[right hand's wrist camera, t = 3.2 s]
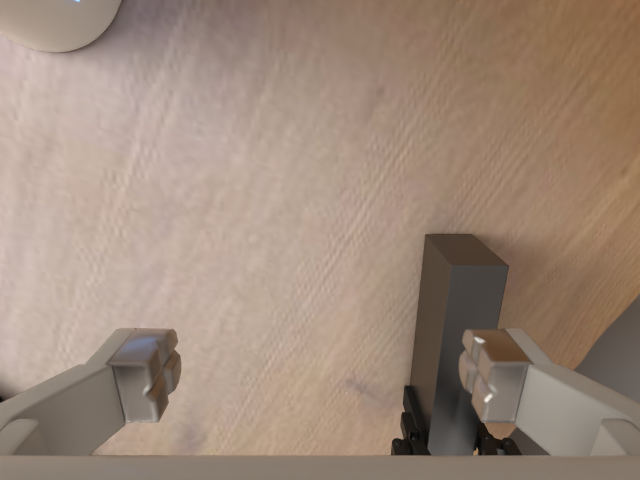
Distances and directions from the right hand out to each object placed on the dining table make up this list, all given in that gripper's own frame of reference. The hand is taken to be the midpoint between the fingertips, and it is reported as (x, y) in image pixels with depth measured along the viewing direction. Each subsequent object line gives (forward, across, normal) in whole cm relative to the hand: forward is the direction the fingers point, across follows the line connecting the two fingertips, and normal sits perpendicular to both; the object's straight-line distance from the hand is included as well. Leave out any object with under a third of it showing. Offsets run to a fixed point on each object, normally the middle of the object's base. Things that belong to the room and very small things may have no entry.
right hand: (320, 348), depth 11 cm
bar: (+27, -13, +18) cm, 35 cm away
